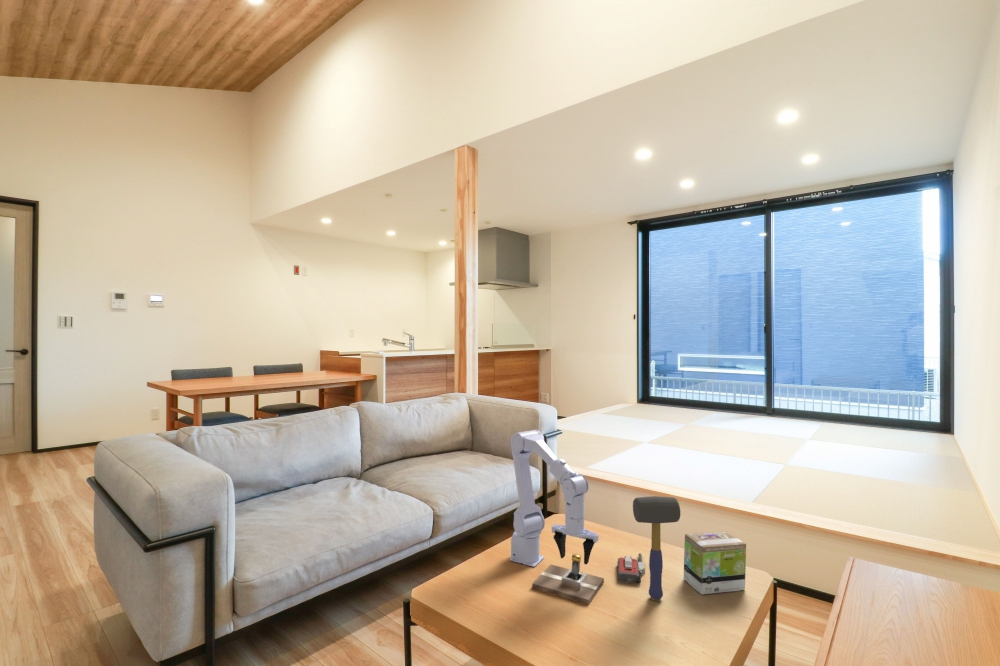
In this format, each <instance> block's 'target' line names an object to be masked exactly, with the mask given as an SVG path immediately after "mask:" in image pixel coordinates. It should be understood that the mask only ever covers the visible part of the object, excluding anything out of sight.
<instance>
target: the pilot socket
mask: <svg viewBox="0 0 1000 666" xmlns="http://www.w3.org/2000/svg"><path fill="white" fill-rule="evenodd" d="M571 572H572V569H570V570H568V571H567V572H566V574H565V575H564V576H563V577H562V585H565V586H569V587H573V588H576V589H580V590H581V588H582V587H583V585H584V584H585V583H586V582H587V574H588V573H586V574H584V573H585V572H582V573H581V572H580V571H579V581H578V580H574V579H571Z"/></svg>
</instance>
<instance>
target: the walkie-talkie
mask: <svg viewBox="0 0 1000 666" xmlns="http://www.w3.org/2000/svg"><path fill="white" fill-rule="evenodd" d="M645 574H646V564H645V562H644V561H643V555H642V553H638V559H636V558H632V556H629V555H625V556H624V557H619V558H617V575H618V578H617V580H619V581H618V582H620V581H621V582H620V583H626V582H628V583H627V584H634V583H635V584H636V585H638V584H639V585H640V584H641V583H642V579H641V578H642V577H641V576H643V575H645Z"/></svg>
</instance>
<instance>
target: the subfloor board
mask: <svg viewBox="0 0 1000 666" xmlns="http://www.w3.org/2000/svg"><path fill="white" fill-rule="evenodd" d="M568 570H571V569H570V568H567V567H566V568H565V567H563V566H559V565H554V564H550V565H548V567H547V568H546V569H544V571H542V572H541V573H540V575H539V576H538V577H537V578H536V579H534V581H533V582H532V583H531V588H532V589H533V588H534V589H533V590H536V589H537V591H539V590H541V591H540V592H543V591H544V592H543V593H546V592H547V594H549V593H551V595H553V594H554V596H556V595H557V596H556V597H560V596H561V597H560V598H563V597H564V598H563V599H566V598H568V599H567V600H570V599H571V601H573V600H575V601H574V602H577V601H578V603H580V602H581V604H583V603H584V605H587V606H589V605H591V602H592V601H593V599H594V598H595V597H596V595H597V594H598V593H599V591H600V589H601V588H602V587H603V586H604V584H603V583H605V578H603V577H600V576H596V575H594V574H589V573H585V572H581V573H584V574H587V582H586V583H585V584H584V585H583V587H582V588H581V590H580V589H576V588H573V587H569V586H565V585H562V577H563V576H564V575H565V574H566V572H567V571H568Z"/></svg>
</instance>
